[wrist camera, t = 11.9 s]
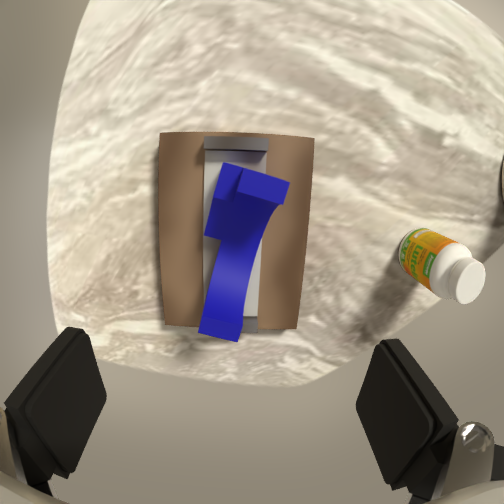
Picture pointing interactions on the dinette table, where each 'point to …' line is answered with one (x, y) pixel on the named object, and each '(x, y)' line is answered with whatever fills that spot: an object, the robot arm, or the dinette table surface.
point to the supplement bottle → (442, 265)
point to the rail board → (206, 248)
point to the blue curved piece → (236, 243)
